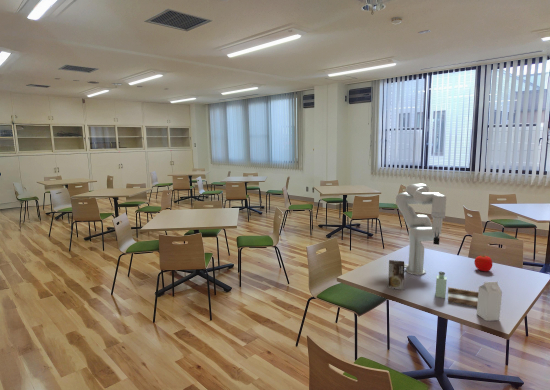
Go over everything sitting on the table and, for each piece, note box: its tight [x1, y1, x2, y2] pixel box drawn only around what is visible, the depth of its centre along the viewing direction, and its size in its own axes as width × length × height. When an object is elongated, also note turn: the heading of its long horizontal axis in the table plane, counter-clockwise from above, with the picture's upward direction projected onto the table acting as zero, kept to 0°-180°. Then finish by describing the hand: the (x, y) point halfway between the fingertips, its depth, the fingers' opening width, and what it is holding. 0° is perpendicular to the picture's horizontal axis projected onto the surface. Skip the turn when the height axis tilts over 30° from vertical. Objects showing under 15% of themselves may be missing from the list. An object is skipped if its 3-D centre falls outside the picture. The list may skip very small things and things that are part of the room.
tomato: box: [474, 254, 493, 272], centre depth 232 cm, size 10×11×11 cm
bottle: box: [434, 271, 448, 299], centre depth 194 cm, size 5×5×14 cm
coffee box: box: [387, 259, 405, 291], centre depth 206 cm, size 9×6×16 cm
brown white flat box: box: [447, 286, 479, 308], centre depth 189 cm, size 20×14×4 cm
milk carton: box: [476, 281, 503, 322], centre depth 169 cm, size 7×7×19 cm
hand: (436, 243), depth 204 cm, fingers closed
